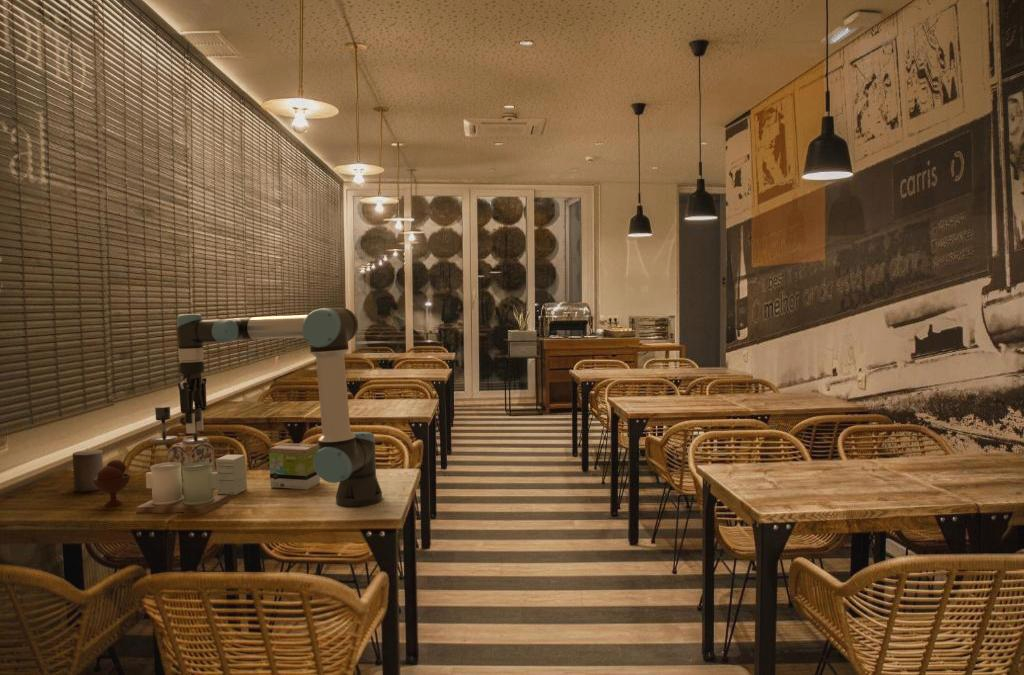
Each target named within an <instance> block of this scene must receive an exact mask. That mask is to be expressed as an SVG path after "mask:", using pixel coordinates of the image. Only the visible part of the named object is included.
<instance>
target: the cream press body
mask: <svg viewBox="0 0 1024 675" xmlns="http://www.w3.org/2000/svg"><path fill="white" fill-rule="evenodd" d="M149 470H150V471H148V472H146V473H145V485H146V489H151V490H152V491H151V492H152V495H151V496H152V499H151V500H152V504H154V505H168V504H174V503H178V502H180V501H182V500H183V499H184V497H183V496H182V495H183V489H182V478H181V463H179V462H168V461H167V462H160V463H157V464H153V465H150V467H149Z"/></svg>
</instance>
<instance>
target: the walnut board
mask: <svg viewBox="0 0 1024 675" xmlns="http://www.w3.org/2000/svg"><path fill="white" fill-rule="evenodd" d="M182 496H183V497H184V494H182ZM213 496H214V498H215V500H214V501H212V502H210V503H206V504H201V505H184V504H183V500H184V499H183V500H182V501H180V502H178V503H174V504H168V505H154V504H152V500H153V499H150V500H149V501H146V502H144V503H141V504H140V505H138V506H136V513H147V514H151V513H152V514H153V513H154V514H155V513H156V514H158V513H161V514H162V513H167V514H171V513H173V514H175V513H176V512H184V513H185V514H208V513H209V512H211V511H213V510H214V509H217V508H218V507H220V506H221V505H223V504H225V503H227V502H228V501H229V494H218V495H215V494H213ZM176 514H177V513H176Z"/></svg>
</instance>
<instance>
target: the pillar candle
mask: <svg viewBox="0 0 1024 675" xmlns="http://www.w3.org/2000/svg"><path fill="white" fill-rule="evenodd" d="M103 451H104V450H102V449H84V450H79V451H78V450H77V451H74V452H73V453H72V470H73V471H72V474H73V486H74V492H76V493H85V492H94V491H97V490H98V491H99V490H100V489H98V488H97V487H96V486H95V484H94V481H93V479H95V478H96V477H98V472H100V471H101V470H102V469H103V468H104V459H103V458H104V457H103V455H104V453H103Z"/></svg>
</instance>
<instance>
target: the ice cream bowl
mask: <svg viewBox="0 0 1024 675" xmlns="http://www.w3.org/2000/svg"><path fill="white" fill-rule="evenodd" d="M126 470H127V466H126V464H125V463H124V461H122V460H119V459H114V460H111V461H109V462H107V463H106V465H105V466H103V469H102V470H101V471H100V472H98V477H96V478H95V479H93V481H94V484H95V486H96V487H97V488H98V489H99V490H100V491H102V492H104V493H107V494H109V497H110V500H108V501H106V502H105V503H104V507H107V508H111V507H118V506H121V505H124V503H123V501H122V500H120V499H118V498H117V493H118V492H121V491H122V490H124V488H125V487H126V486H127V485H128V484H129V481H130V479H131V473H127V472H126Z"/></svg>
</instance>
